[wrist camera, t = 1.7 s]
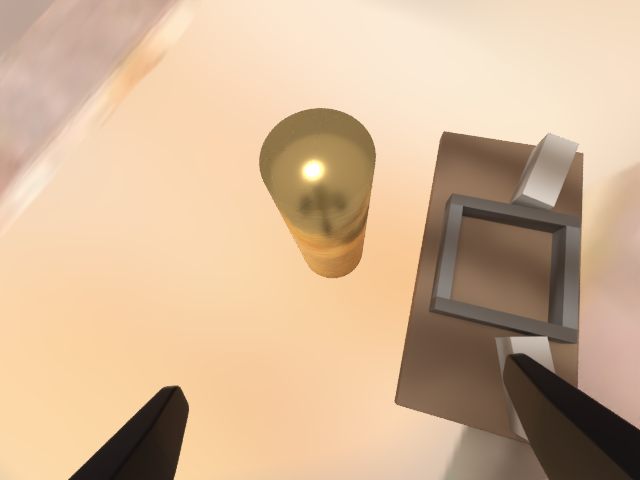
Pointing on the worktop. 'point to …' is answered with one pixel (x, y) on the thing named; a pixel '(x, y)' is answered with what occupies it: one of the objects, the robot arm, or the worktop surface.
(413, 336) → the shaft rig
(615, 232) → the worktop surface
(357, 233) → the olive gold cylinder
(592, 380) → the worktop surface
